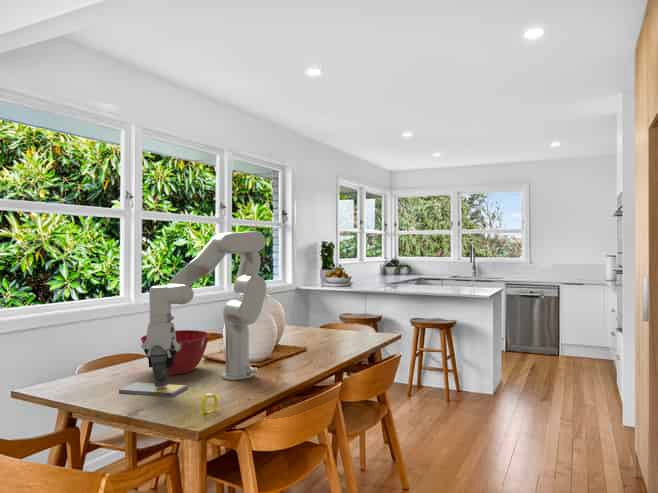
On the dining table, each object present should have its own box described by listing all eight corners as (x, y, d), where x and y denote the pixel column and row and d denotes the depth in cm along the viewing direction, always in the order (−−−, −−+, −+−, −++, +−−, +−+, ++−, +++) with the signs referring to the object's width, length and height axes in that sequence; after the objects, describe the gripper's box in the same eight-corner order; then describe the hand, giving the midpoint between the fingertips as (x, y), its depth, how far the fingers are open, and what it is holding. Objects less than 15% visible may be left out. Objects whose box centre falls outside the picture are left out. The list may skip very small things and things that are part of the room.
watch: (206, 416, 155) (205, 397, 154) (199, 415, 156) (198, 396, 156) (219, 409, 160) (218, 391, 159) (213, 408, 161) (212, 390, 161)
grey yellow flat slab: (187, 388, 185) (187, 385, 185) (172, 396, 175) (172, 392, 175) (135, 385, 190) (135, 382, 190) (118, 392, 180) (118, 389, 180)
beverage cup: (153, 383, 185) (151, 330, 185) (173, 382, 186) (171, 329, 186) (148, 388, 178) (146, 333, 178) (168, 387, 178) (166, 332, 179)
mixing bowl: (190, 381, 196) (190, 342, 196) (126, 378, 202) (126, 340, 202) (220, 364, 224) (220, 330, 224) (163, 362, 230) (162, 329, 230)
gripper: (186, 318, 184) (187, 365, 184) (145, 317, 188) (146, 364, 188) (176, 321, 177) (176, 370, 177) (133, 320, 181) (134, 368, 181)
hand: (161, 366), depth 182 cm, fingers closed on beverage cup, 6 cm apart
